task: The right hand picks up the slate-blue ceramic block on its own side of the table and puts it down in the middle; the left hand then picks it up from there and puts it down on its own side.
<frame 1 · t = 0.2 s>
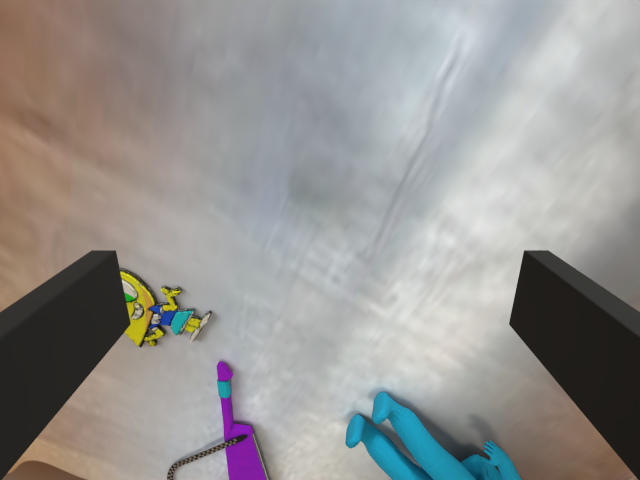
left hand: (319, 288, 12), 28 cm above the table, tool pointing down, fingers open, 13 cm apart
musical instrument: (215, 449, 53), on the table
toy 2: (139, 306, 45), on the table
toy: (438, 451, 53), on the table
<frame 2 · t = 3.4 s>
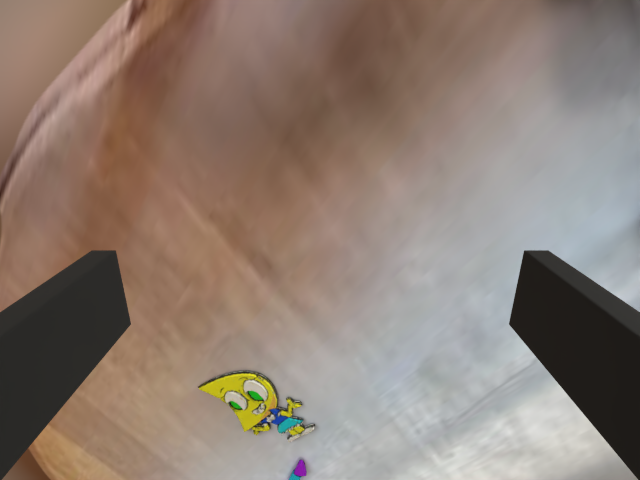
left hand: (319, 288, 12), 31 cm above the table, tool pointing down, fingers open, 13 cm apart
toy 2: (260, 404, 54), on the table
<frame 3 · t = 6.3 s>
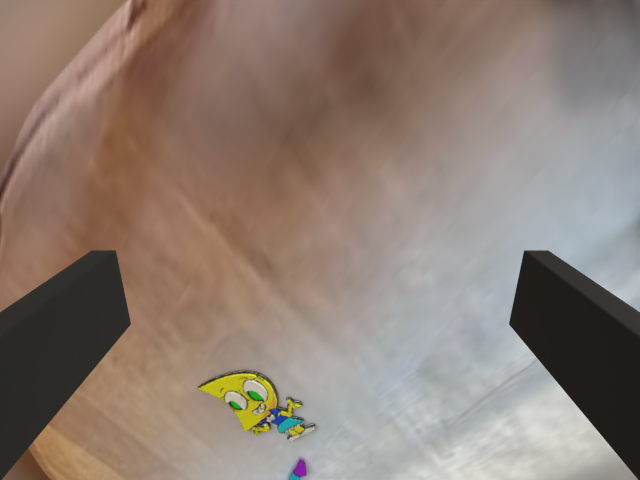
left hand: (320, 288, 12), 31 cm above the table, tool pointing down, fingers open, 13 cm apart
toy 2: (260, 404, 54), on the table
when the right hand's fingers open (5 cm above the table, at t = 9.6 s): block stays where it is, on the table.
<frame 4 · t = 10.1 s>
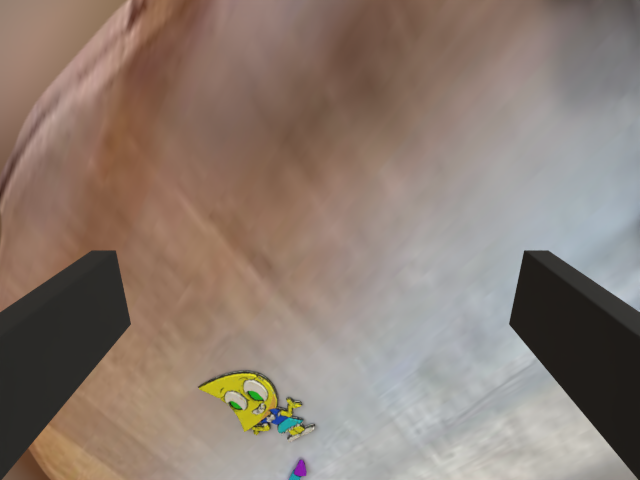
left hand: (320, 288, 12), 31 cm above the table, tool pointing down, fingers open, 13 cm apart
toy 2: (260, 404, 54), on the table
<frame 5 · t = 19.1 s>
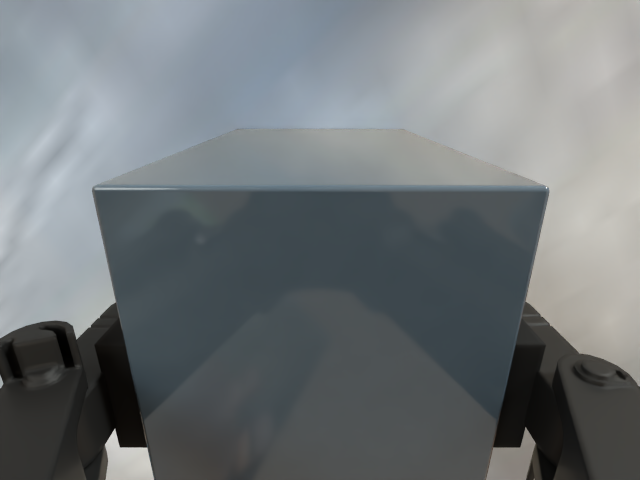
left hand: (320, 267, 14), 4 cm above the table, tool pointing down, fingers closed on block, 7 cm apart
block: (320, 228, 18), on the table, touching left hand
when the left hand's fingers open (5 cm above the table, at t = 26.9 s): block stays where it is, on the table.
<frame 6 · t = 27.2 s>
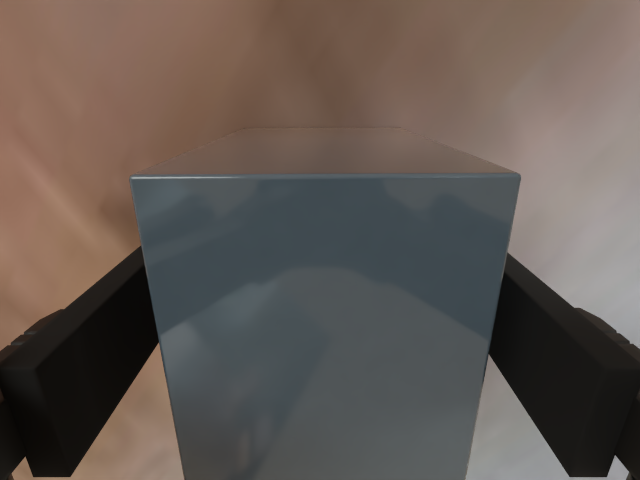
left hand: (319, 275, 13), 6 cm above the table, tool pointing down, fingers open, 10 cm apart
block: (322, 221, 19), on the table
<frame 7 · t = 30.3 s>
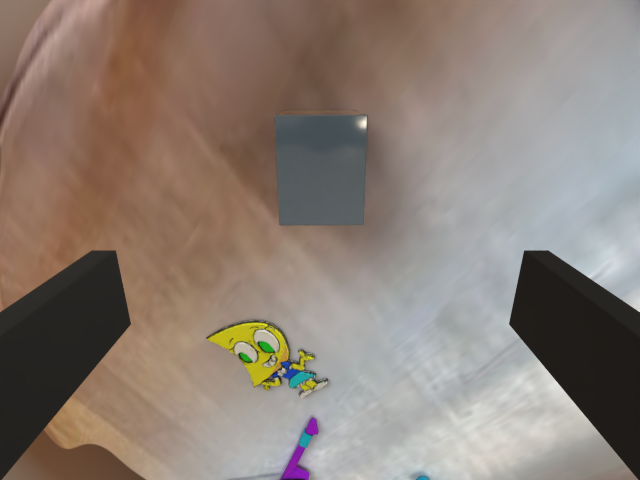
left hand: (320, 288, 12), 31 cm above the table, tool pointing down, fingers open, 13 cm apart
block: (321, 153, 42), on the table
toy 2: (271, 357, 51), on the table
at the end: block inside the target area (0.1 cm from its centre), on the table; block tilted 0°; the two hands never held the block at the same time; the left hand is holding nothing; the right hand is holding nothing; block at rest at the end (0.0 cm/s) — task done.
